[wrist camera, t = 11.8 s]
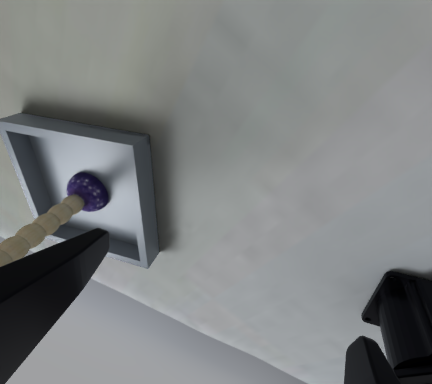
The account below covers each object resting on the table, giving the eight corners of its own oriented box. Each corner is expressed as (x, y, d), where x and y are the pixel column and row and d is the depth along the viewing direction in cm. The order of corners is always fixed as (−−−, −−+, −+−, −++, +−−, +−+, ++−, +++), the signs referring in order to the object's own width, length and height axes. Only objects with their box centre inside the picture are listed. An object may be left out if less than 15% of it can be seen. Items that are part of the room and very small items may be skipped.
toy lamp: (92, 163, 25) (-169, 323, 12) (123, 202, 26) (-77, 386, 13) (65, 180, 27) (-178, 331, 14) (94, 216, 29) (-100, 383, 15)
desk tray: (159, 252, 30) (147, 268, 28) (58, 224, 33) (41, 237, 31) (149, 134, 22) (132, 145, 20) (20, 112, 25) (-5, 120, 23)
